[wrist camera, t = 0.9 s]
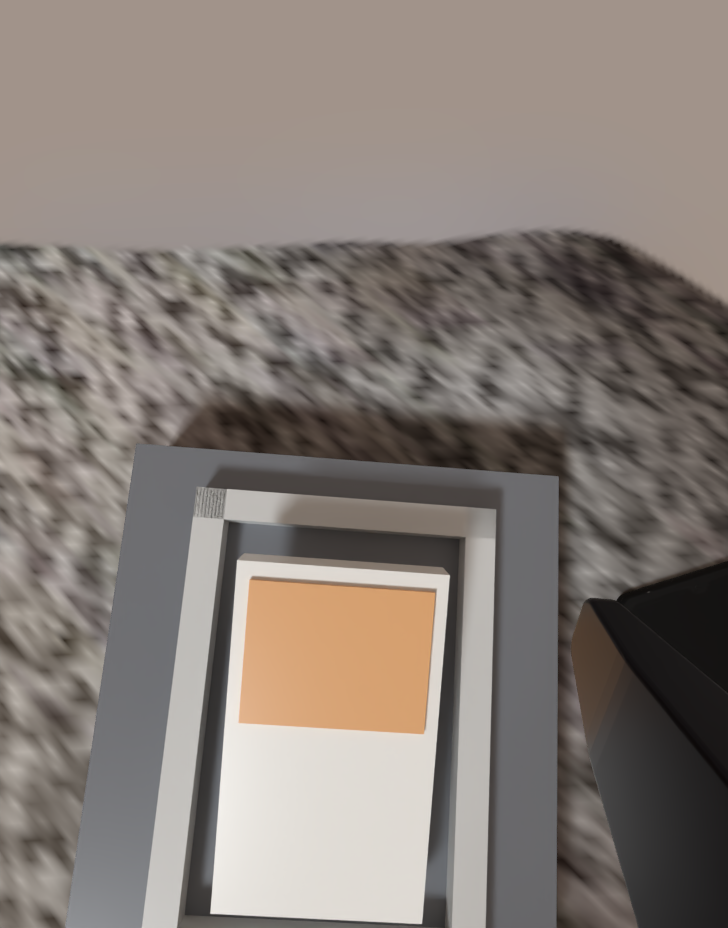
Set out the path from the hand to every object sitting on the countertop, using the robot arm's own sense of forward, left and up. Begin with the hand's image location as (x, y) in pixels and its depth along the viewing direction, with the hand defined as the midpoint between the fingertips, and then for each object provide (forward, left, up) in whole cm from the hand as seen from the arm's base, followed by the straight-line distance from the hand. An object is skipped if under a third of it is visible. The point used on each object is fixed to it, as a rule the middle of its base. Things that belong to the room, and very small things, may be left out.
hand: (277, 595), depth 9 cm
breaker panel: (-4, -1, -15) cm, 15 cm away
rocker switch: (-4, -1, -10) cm, 11 cm away
